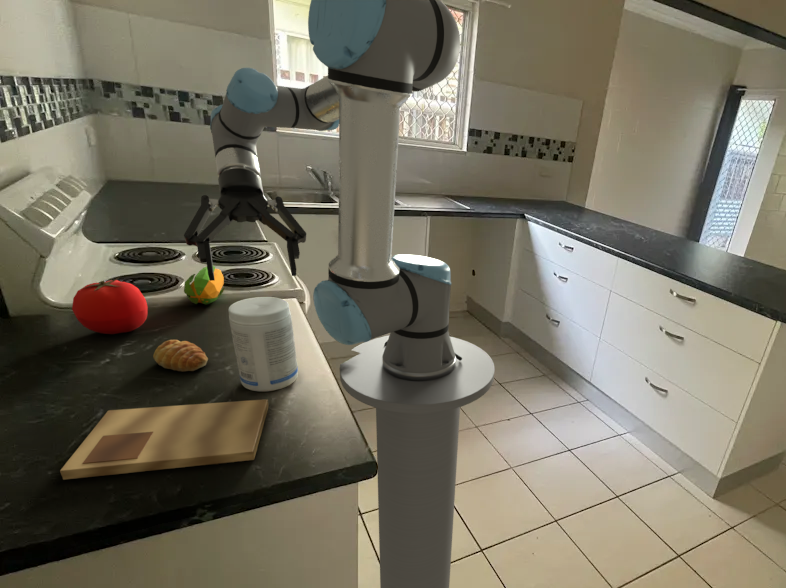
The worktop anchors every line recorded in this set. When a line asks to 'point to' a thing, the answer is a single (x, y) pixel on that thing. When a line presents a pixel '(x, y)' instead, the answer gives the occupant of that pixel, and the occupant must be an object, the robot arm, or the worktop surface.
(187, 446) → the cutting board
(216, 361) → the worktop surface
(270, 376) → the supplement tub
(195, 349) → the pastry
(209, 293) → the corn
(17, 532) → the worktop surface
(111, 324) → the tomato
